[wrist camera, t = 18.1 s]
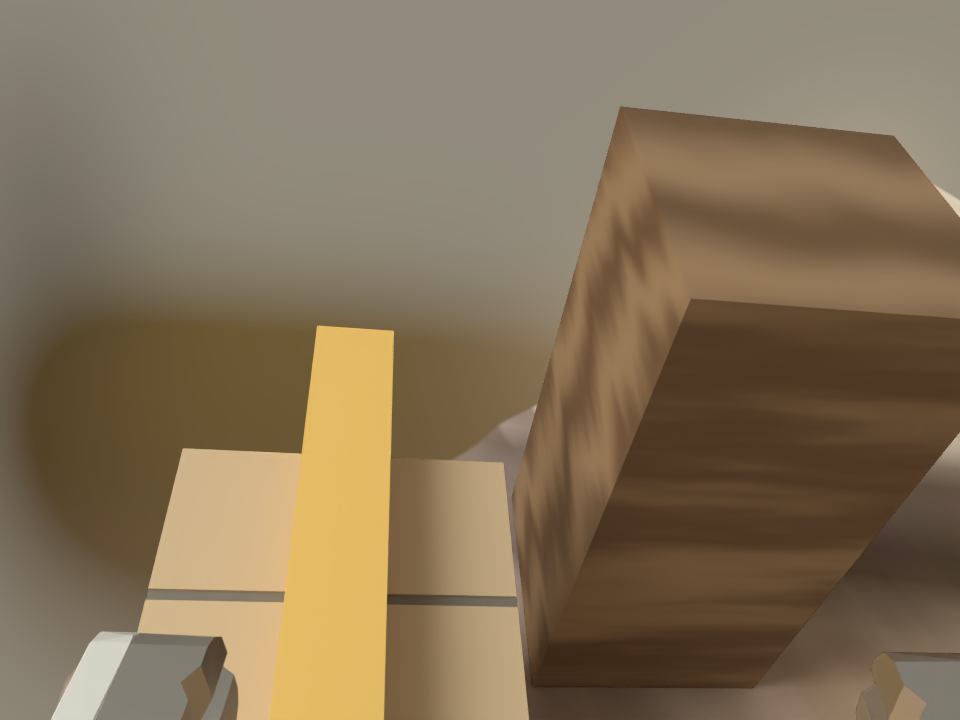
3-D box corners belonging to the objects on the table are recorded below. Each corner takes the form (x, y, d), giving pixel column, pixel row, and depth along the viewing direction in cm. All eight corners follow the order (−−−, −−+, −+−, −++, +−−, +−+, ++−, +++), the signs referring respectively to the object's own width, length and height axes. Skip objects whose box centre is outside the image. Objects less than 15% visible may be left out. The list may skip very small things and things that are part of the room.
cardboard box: (464, 930, 35) (536, 789, 24) (164, 941, 34) (96, 794, 23) (453, 657, 44) (503, 462, 33) (214, 655, 42) (183, 448, 31)
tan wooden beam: (362, 1300, 17) (368, 1307, 15) (206, 1314, 16) (195, 1322, 15) (389, 375, 35) (393, 330, 34) (316, 370, 35) (317, 325, 33)
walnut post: (753, 687, 45) (1045, 324, 27) (532, 686, 43) (690, 298, 26) (698, 503, 54) (893, 136, 36) (511, 496, 52) (620, 106, 34)
